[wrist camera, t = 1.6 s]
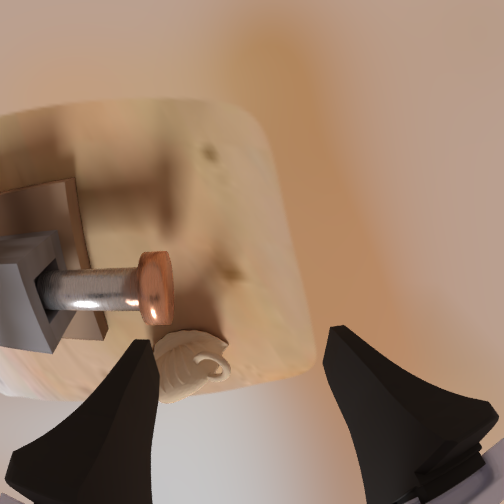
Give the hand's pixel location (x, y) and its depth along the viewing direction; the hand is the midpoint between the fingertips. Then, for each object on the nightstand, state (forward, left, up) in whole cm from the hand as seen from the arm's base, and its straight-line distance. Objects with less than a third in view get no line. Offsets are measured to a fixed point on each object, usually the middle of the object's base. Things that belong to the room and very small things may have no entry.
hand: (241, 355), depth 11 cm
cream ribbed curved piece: (-4, -8, -10) cm, 13 cm away
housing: (-16, 0, -9) cm, 18 cm away
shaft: (-9, 0, -7) cm, 12 cm away
